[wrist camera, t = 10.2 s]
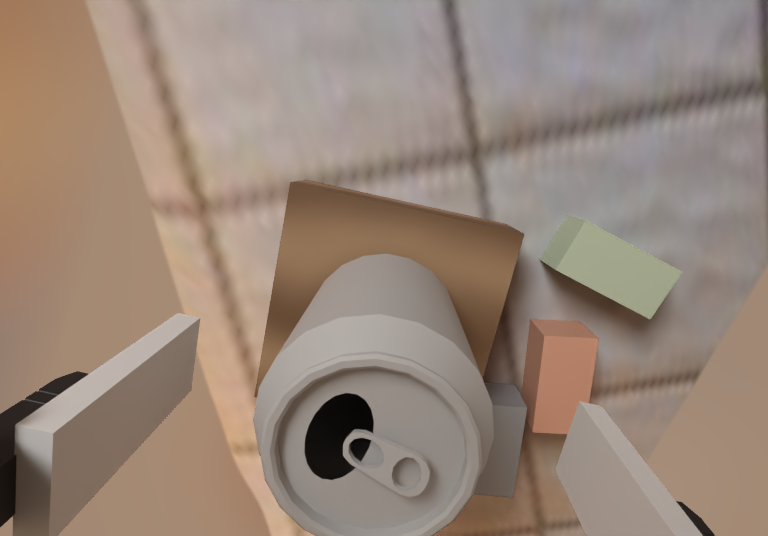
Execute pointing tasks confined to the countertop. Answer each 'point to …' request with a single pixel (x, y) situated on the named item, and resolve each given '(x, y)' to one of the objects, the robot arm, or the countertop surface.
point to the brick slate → (503, 441)
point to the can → (375, 406)
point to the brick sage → (610, 266)
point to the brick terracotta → (557, 373)
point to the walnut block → (388, 236)
